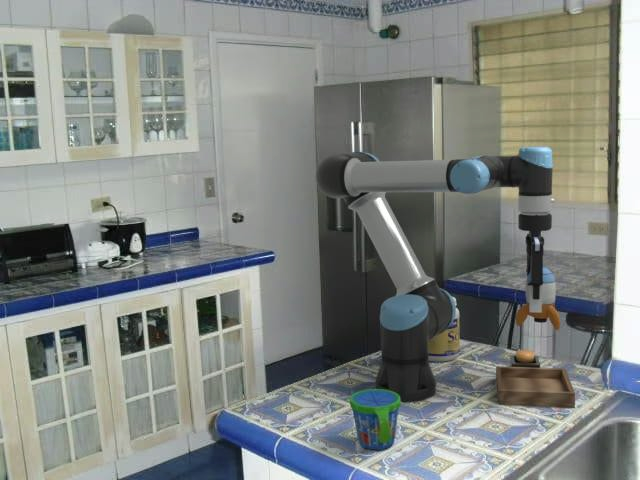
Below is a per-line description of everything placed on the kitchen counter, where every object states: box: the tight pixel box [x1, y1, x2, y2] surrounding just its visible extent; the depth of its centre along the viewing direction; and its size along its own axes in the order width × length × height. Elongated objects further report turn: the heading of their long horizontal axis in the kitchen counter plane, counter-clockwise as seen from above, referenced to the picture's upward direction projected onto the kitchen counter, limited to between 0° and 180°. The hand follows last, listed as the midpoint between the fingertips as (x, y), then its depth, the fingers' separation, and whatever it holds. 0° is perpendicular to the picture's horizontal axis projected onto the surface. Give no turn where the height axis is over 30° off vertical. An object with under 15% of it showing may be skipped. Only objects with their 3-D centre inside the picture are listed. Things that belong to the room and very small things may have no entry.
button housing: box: [509, 354, 541, 368], centre depth 184 cm, size 7×7×4 cm
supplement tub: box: [428, 296, 461, 363], centre depth 200 cm, size 12×12×17 cm
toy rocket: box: [515, 267, 561, 331], centre depth 167 cm, size 10×11×15 cm
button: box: [515, 349, 535, 363], centre depth 184 cm, size 5×5×2 cm
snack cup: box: [349, 388, 402, 451], centre depth 147 cm, size 16×10×10 cm
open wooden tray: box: [495, 365, 576, 409], centre depth 171 cm, size 17×17×4 cm
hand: (534, 307), depth 168 cm, fingers closed on toy rocket, 7 cm apart
